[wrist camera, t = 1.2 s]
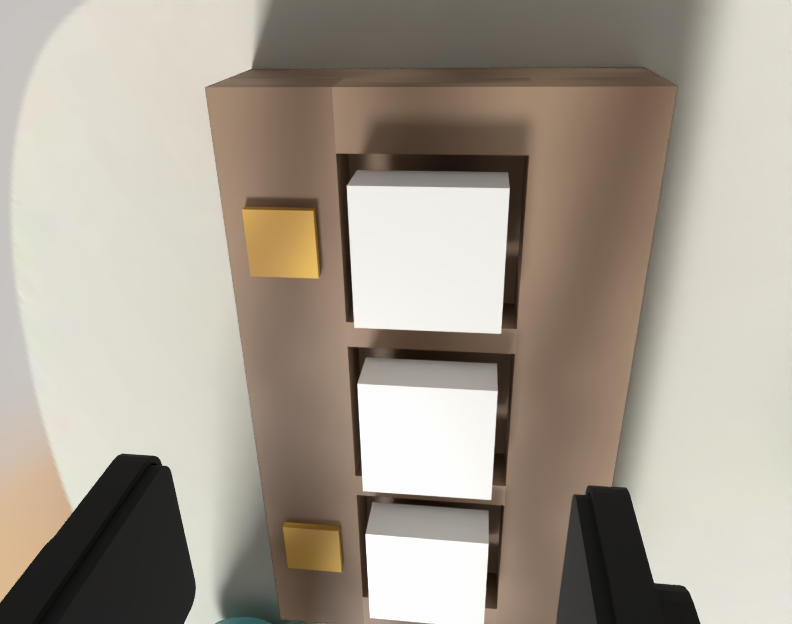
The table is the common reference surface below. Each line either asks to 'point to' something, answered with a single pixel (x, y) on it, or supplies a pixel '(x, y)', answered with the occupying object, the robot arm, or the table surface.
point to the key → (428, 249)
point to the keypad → (511, 350)
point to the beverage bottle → (243, 621)
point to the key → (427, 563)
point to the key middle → (428, 427)
